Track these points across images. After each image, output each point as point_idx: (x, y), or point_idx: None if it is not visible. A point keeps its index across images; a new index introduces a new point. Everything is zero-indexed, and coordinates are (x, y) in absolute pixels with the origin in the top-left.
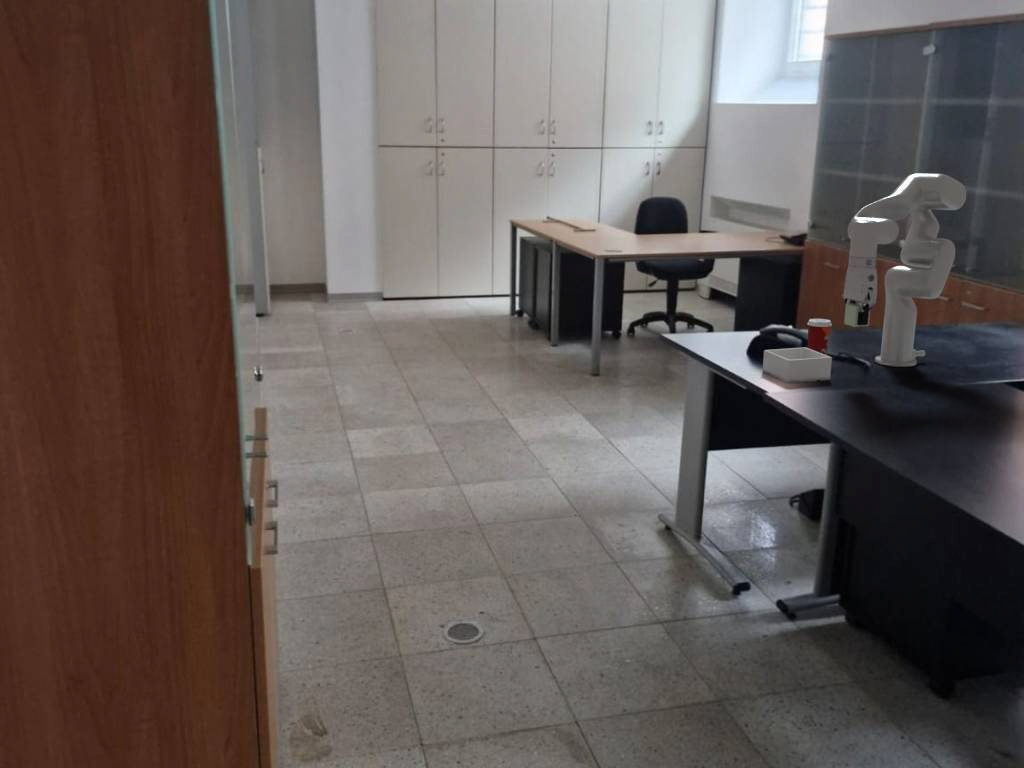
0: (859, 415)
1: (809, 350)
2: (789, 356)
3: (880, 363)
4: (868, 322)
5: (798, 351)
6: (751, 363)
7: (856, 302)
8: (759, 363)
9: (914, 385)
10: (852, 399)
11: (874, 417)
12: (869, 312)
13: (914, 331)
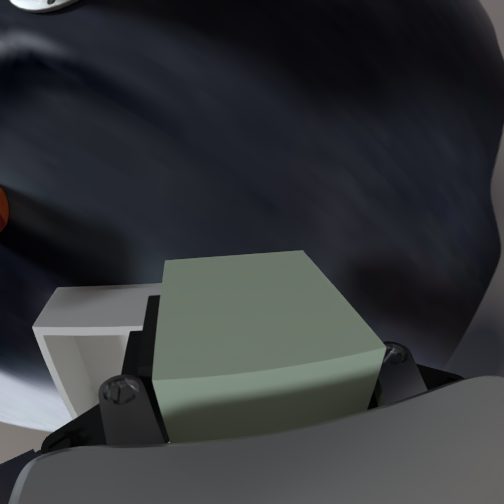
0: (444, 340)
1: (71, 333)
2: (66, 364)
3: (61, 7)
4: (310, 266)
5: (53, 348)
6: (13, 375)
7: (159, 432)
8: (10, 361)
9: (340, 67)
10: (382, 313)
11: (460, 322)
12: (349, 311)
13: None
